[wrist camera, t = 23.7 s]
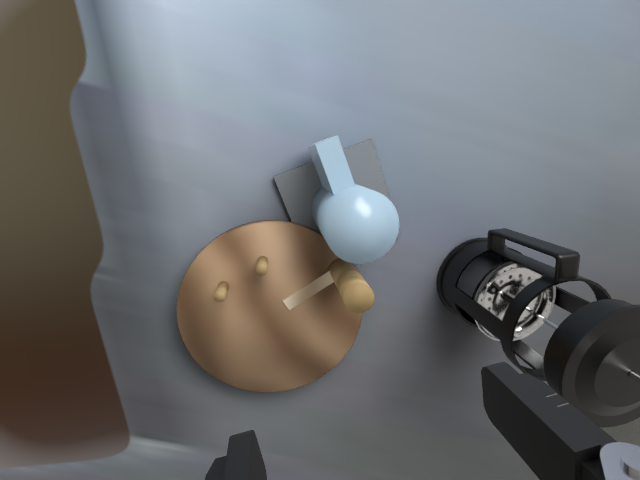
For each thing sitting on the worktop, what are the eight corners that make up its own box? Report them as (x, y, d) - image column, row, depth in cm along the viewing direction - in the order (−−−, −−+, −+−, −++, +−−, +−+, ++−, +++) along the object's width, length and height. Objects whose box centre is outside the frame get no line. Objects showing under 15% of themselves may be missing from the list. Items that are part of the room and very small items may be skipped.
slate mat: (399, 232, 36) (401, 233, 35) (310, 267, 35) (311, 269, 35) (369, 139, 33) (371, 138, 32) (273, 176, 32) (273, 177, 32)
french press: (511, 315, 40) (804, 515, 18) (436, 326, 39) (647, 552, 17) (519, 218, 37) (883, 314, 15) (437, 227, 36) (697, 345, 14)
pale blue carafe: (374, 223, 34) (408, 247, 26) (323, 244, 34) (340, 275, 25) (342, 131, 32) (368, 123, 23) (287, 153, 31) (292, 153, 23)
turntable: (301, 182, 32) (310, 192, 24) (390, 323, 37) (423, 371, 29) (140, 286, 32) (95, 331, 24) (250, 411, 37) (244, 483, 29)
